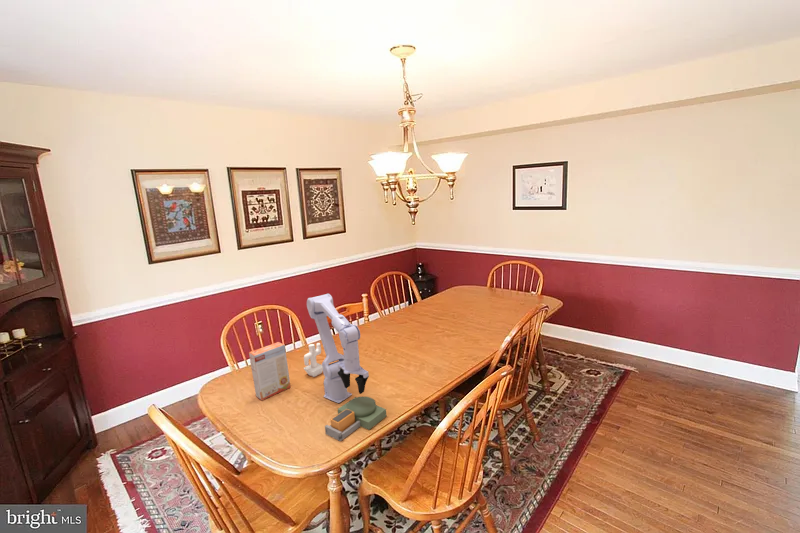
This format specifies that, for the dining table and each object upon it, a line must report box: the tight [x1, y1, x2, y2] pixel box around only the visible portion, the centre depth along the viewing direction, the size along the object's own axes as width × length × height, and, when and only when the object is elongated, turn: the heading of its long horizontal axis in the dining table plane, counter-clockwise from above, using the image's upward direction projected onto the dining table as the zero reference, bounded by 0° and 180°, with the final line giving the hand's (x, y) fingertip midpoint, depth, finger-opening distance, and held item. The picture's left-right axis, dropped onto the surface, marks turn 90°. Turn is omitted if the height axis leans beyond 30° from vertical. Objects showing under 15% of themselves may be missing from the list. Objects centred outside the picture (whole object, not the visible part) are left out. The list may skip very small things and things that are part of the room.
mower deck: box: [324, 396, 387, 442], centre depth 143 cm, size 16×21×5 cm
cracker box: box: [248, 341, 291, 401], centre depth 166 cm, size 14×6×21 cm, turn 135°
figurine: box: [303, 342, 323, 378], centre depth 181 cm, size 7×9×15 cm
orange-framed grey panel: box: [330, 409, 355, 432], centre depth 139 cm, size 4×8×5 cm, turn 142°
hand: (354, 389), depth 148 cm, fingers open, 7 cm apart
